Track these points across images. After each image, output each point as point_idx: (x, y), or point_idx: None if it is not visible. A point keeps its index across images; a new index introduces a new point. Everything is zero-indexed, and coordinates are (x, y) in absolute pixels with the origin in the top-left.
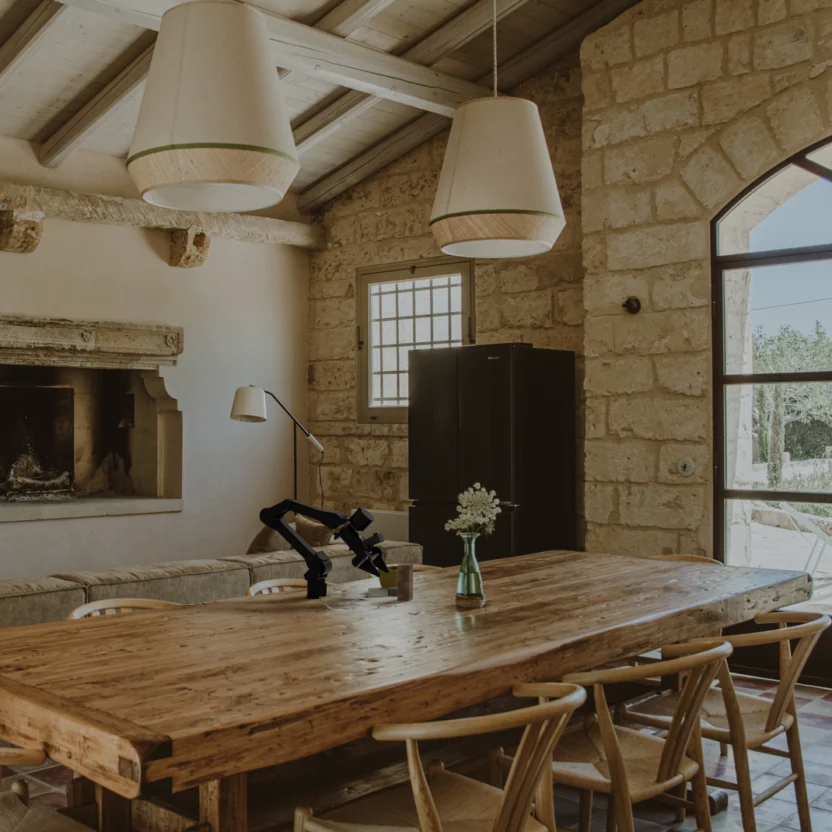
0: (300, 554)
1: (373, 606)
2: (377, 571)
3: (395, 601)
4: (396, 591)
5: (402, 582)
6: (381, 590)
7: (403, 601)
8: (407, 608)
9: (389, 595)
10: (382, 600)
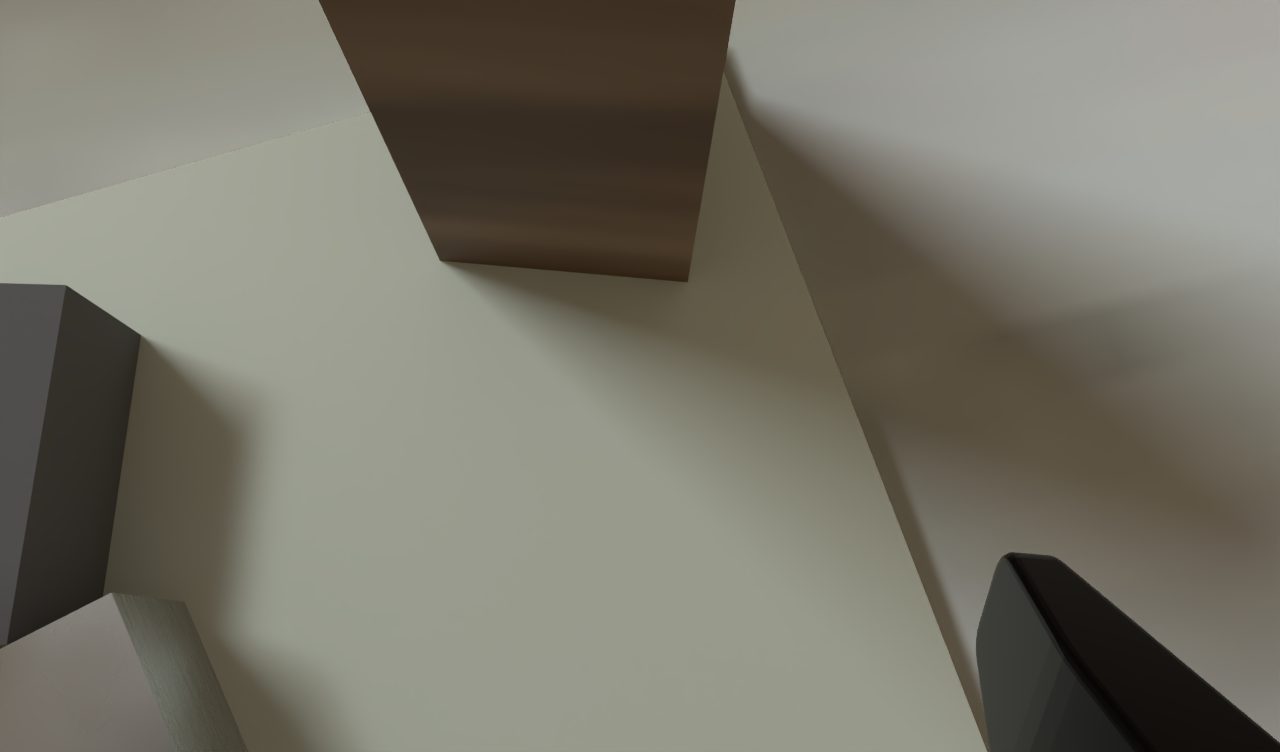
0: None
1: (1244, 653)
2: (1198, 685)
3: (788, 299)
4: (82, 401)
5: None
6: (188, 747)
7: (751, 154)
8: (1223, 7)
9: (101, 581)
10: (739, 585)
